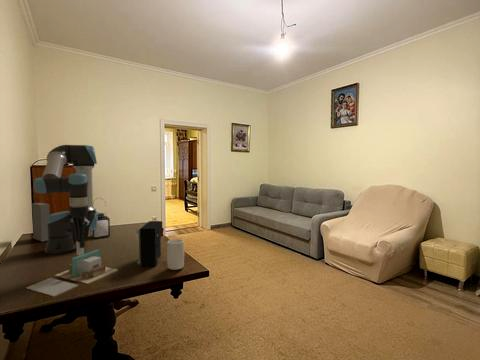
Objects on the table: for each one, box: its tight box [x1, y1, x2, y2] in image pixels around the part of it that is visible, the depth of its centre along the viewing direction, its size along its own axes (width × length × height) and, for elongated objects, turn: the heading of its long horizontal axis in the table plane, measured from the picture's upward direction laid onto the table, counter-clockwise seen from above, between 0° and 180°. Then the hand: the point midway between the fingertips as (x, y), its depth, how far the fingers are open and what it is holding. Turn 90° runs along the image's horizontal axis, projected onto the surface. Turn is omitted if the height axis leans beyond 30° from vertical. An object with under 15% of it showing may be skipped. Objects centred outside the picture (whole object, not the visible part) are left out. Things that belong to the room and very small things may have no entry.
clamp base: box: [54, 263, 119, 285], centre depth 125 cm, size 22×16×4 cm
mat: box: [25, 277, 79, 298], centre depth 110 cm, size 18×10×1 cm, turn 68°
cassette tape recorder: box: [31, 202, 51, 243], centre depth 180 cm, size 14×6×25 cm, turn 58°
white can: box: [166, 238, 185, 271], centre depth 130 cm, size 8×8×14 cm
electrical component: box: [136, 220, 165, 268], centre depth 141 cm, size 18×10×20 cm, turn 5°
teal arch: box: [71, 249, 101, 277], centre depth 124 cm, size 2×13×9 cm, turn 158°
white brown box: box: [77, 255, 102, 277], centre depth 124 cm, size 13×6×7 cm, turn 68°
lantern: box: [89, 197, 111, 240], centre depth 190 cm, size 11×11×28 cm
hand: (80, 254), depth 125 cm, fingers closed
